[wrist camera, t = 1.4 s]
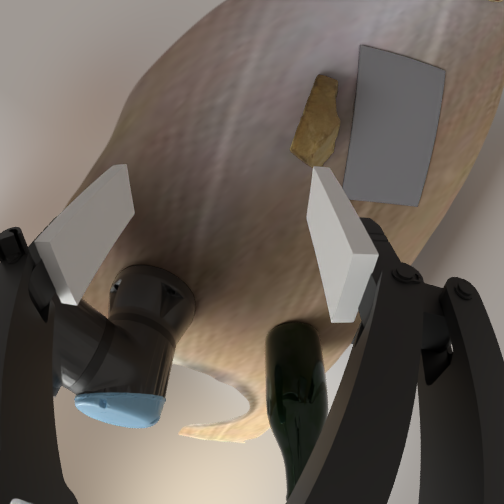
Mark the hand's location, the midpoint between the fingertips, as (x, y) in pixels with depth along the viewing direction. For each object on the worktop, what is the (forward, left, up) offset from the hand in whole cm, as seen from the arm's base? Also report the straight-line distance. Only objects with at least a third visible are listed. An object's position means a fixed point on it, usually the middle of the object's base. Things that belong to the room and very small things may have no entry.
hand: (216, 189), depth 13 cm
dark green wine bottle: (+10, -39, -22) cm, 46 cm away
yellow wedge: (+9, 0, -22) cm, 23 cm away
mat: (+19, 0, -21) cm, 29 cm away
